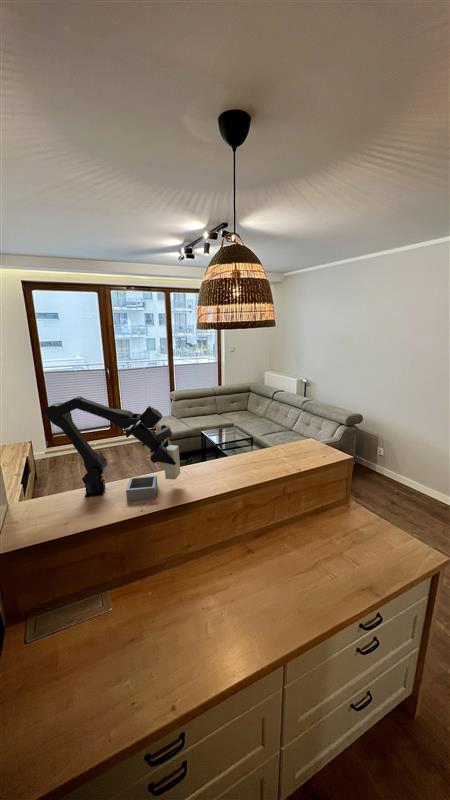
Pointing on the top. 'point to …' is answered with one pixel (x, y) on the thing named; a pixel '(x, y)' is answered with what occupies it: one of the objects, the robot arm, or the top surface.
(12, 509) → the top surface
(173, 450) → the skincare box
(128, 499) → the gray rectangular frame
